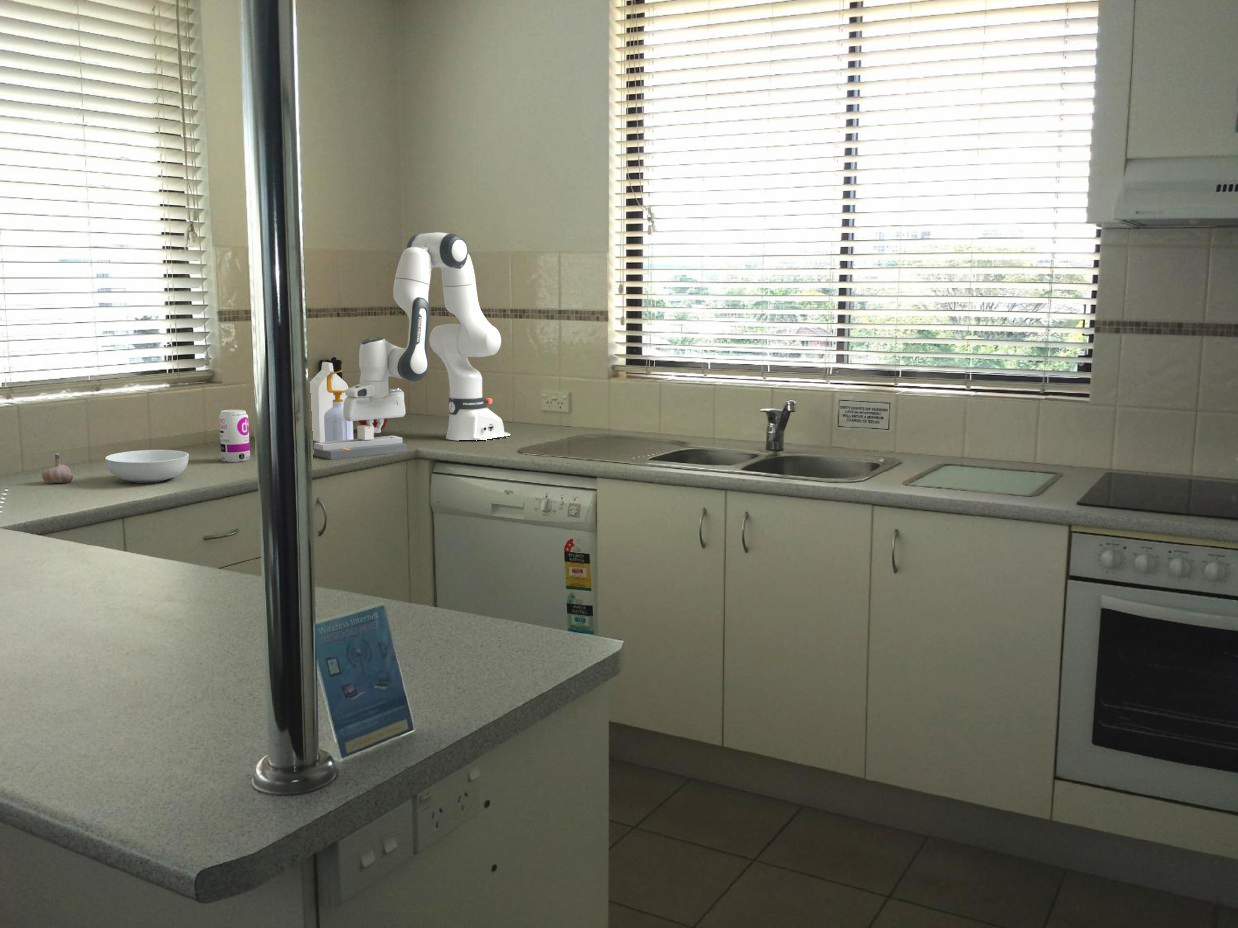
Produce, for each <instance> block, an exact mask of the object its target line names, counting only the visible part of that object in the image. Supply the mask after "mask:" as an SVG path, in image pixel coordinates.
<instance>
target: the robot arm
mask: <svg viewBox="0 0 1238 928" xmlns="http://www.w3.org/2000/svg"><path fill="white" fill-rule="evenodd" d="M406 244H407V245H406V249H404V250H403V251H402V253H401V256H400V258H399V260H398V264H397V267H396V273H395V276H394V280H393V289H392V292H393V293H392V295H393V299H394V301H395V303H396V304H397V305H398V307H400V309H402V310H403V311H404V312H405V313H406V316H407V318H408V321H409V322H408V324H409V325H408V332H407V333H408V337H407V345H406V347H405V348H404V347H399V346H398V345H395V344H392V343H391V342H389V341H388V340H386V339H385V338H384V337H382V336H381V337H380V336H377V337H369V338H365V339H364V340H362V342H361V343H360V346H359V353H358V354H359V355H358V357H359V358H358V363H359V364H358V367H359V370H360V376H359V384H355V385H354V386H351V387H348V389H346V390H345V395H346V396H348V397H346V398H345V400H344V406H343V416H344V418H345V420H347V421H353V422H356V421H357V422H359V420H366V422H367V424H368V426H373V424H372V423H374V419H377V422H378V424H377V426H376V427H374V426H373V429H374V435H375V434H381V433H382V430H381V427H382V425H383V423H384V418H388V419H392V418H393V419H394V418H404V417H405V415H406V413H407V412H406V405H405V393H404V391H403V390H402V389H400V388H399V387H398V388H396V387H395V388H389V377H391V378H396V379H401V380H403V379H404V380H407V381H410V382H420V381H421V380H422V379H424V378H425V377H426V375H427V374H428V372H429V369H430V357H429V350H428V345H430V348H431V349H432V351H433V352H434V354H437V356H438V357H440V359H441V361H442V362H443V364H444V365H445V368H446V371H447V374H448V376H447V377H448V382H449V385H448V387H449V397H448V413H449V417H448V418H449V419H448V428H447V432H446V436H445V439H446V440H449V441H450V440H451V441H459V440H476V441H475V442H478V441H477V440H486V441H488V440H487V439H492V438H497V437H504V436H510V435H511V433H509V432H507V431H505V425H504V422H503V420H502V418H501V417H500V416H499V415H497V413H494V412H493V411H492V410H490V409H489V407H488V405H492V404H493V403H494V400H492V398H491V397H488V398H485V397H484V396H483V376H482V374H481V371H479V370H478V369H476V368H475V367H473V366H472V365H471V363H470V361H469V357H470V358H471V357H472V358H473V357H474V358H485V357H491V356H494V355H496V354H497V353H498V352H499V350H500V348H501V345H502V336H501V334H500V332H499V330H498V329H497V327H496V326H494V325H492V324H491V323H490V322H489V321H488V320H487V318H486V316H485V315H484V313H483V311H482V310H481V307H480V302H479V299H478V291H477V284H476V283H477V282H476V274H475V270H474V265H473V261H472V258H471V256H470V254H469V248H468V244H467V242H466V240H465V238H464V237H462V236H461V235H459V234H456V233H451V232H450V233H447V232H437V231H436V232H435V231H434V232H428V233H425V232H420V233H416V234H413V235H412V236H411V238H409V240H408V242H407V243H406ZM434 268H439V269H440V270H441V283H442V284H441V285H442V293H443V300H444V301H443V302H444V306H445V309H446V310H447V311H448V312H449V313H451V315H452V314H453V315H454V316H455V317H456V318H457V319H458V321H459V323H446V324H440V325H436V326H435V327H433V329H432V330H431V332H430V318H431V317H430V316H431V314H430V313H431V310H430V305H429V304H430V303H429V292H430V284H431V280H432V279H431V278H432V277H431V276H432V270H433V269H434ZM429 332H430V334H429Z"/></svg>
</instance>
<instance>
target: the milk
mask: <svg viewBox="0 0 1238 928" xmlns="http://www.w3.org/2000/svg"><path fill="white" fill-rule="evenodd" d="M334 372H335V371H334V365H333V362H328V361H322V363H321V369H320V371H319V372H318V373H316V375H315V376H314V377H313V378H312V379H311V380H310V381H309V383H310V393H311V411H312V431H313V440H312V441H313V442H316V443H320V442H325V430H324V415H325V413H326V412H327V411H328V410H329V409H331V408H332V407H333V400H335V395H333V393H329V392H328V391H327V376H328V375H329V374H331V373H334ZM331 387H332V390H340V391H345V390H346V389H348V388H349V386H348V383H347V382H346V381H345V380H344V379H342V377H340V376H339V375H338V374H337V373H335V374H333V375H332V376H331ZM346 397H348V396H346V395H345V392H344V393H342V395H340V399H341V400H343V406H344V400H345V398H346Z"/></svg>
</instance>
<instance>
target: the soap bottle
mask: <svg viewBox="0 0 1238 928" xmlns="http://www.w3.org/2000/svg"><path fill="white" fill-rule="evenodd" d="M343 371H344V370H343V369H340V370H337V371H334V373H331V374H329V375H328V376H327V391H328V392H329V393H333V395H335V400H333V407H332V408H331V409H329V410H328V411H327V412H326V413H325V415H324V430H325V442H331V441H341V440H352V439H354V425H353V424H354V421H347V420H345V418H344V416H343V400H341V399H340V395H342V393H344V392H345V391H340V390H332V387H331V376H332V375H333V374H335V373H336V374H337V373H341V372H343Z"/></svg>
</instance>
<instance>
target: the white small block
mask: <svg viewBox="0 0 1238 928" xmlns="http://www.w3.org/2000/svg"><path fill="white" fill-rule="evenodd" d="M356 428H357V429H356V431H357V434H356V435H357V439H361V441H365V440H371V439H374V437H375V434H374V429H373V426H368V425H360V424H359V425H357V427H356Z"/></svg>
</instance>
